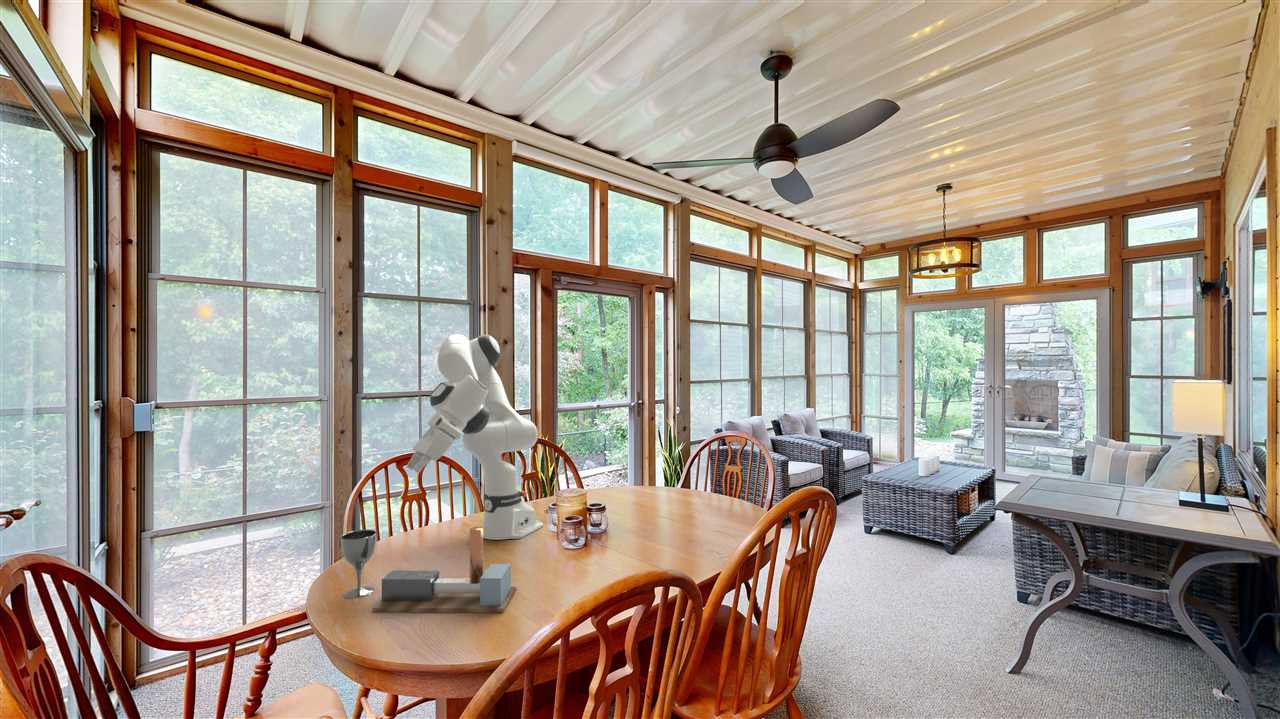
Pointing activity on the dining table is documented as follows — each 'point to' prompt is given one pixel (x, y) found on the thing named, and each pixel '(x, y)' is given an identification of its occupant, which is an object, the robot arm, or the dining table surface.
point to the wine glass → (358, 557)
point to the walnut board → (444, 604)
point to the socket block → (495, 584)
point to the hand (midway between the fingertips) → (412, 469)
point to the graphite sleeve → (408, 586)
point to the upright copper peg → (475, 569)
